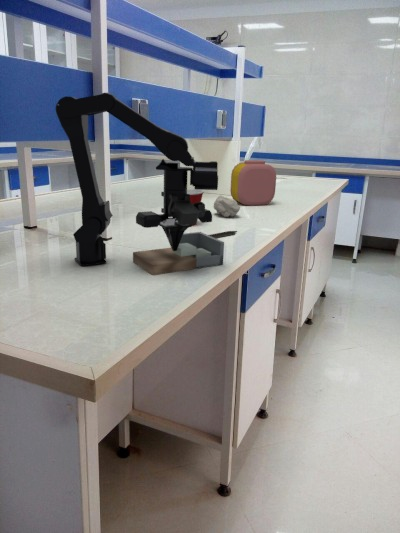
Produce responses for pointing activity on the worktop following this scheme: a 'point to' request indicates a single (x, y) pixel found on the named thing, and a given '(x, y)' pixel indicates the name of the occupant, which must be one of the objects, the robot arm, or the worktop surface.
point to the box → (205, 243)
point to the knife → (222, 234)
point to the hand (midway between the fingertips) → (174, 250)
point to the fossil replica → (226, 206)
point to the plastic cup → (195, 196)
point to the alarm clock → (253, 183)
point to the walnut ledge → (163, 261)
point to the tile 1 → (185, 250)
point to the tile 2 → (201, 253)
